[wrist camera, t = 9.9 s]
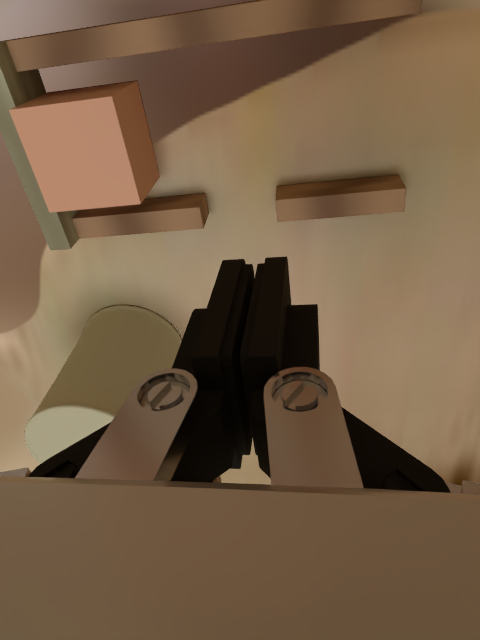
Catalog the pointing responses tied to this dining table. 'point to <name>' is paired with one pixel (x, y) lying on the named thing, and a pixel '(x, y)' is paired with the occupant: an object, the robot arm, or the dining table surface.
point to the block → (89, 146)
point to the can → (100, 376)
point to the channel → (171, 33)
